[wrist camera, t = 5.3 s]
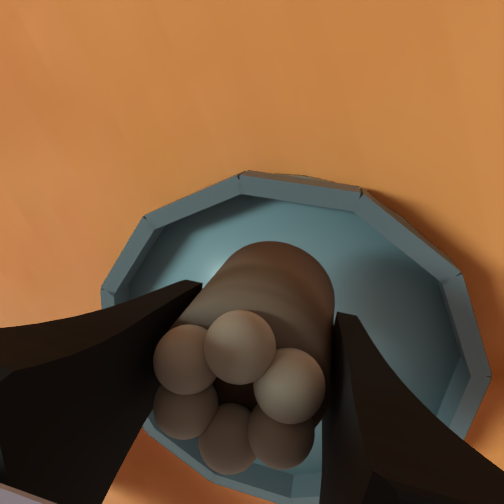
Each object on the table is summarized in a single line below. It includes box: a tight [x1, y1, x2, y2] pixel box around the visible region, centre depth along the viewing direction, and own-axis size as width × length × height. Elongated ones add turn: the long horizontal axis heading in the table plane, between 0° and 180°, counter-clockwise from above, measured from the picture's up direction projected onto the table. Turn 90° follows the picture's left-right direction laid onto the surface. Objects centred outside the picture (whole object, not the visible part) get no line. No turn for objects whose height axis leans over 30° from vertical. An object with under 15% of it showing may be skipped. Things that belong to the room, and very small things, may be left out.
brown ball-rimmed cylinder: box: [153, 241, 335, 475], centre depth 10 cm, size 4×4×6 cm
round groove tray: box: [100, 170, 492, 504], centre depth 19 cm, size 19×19×2 cm
